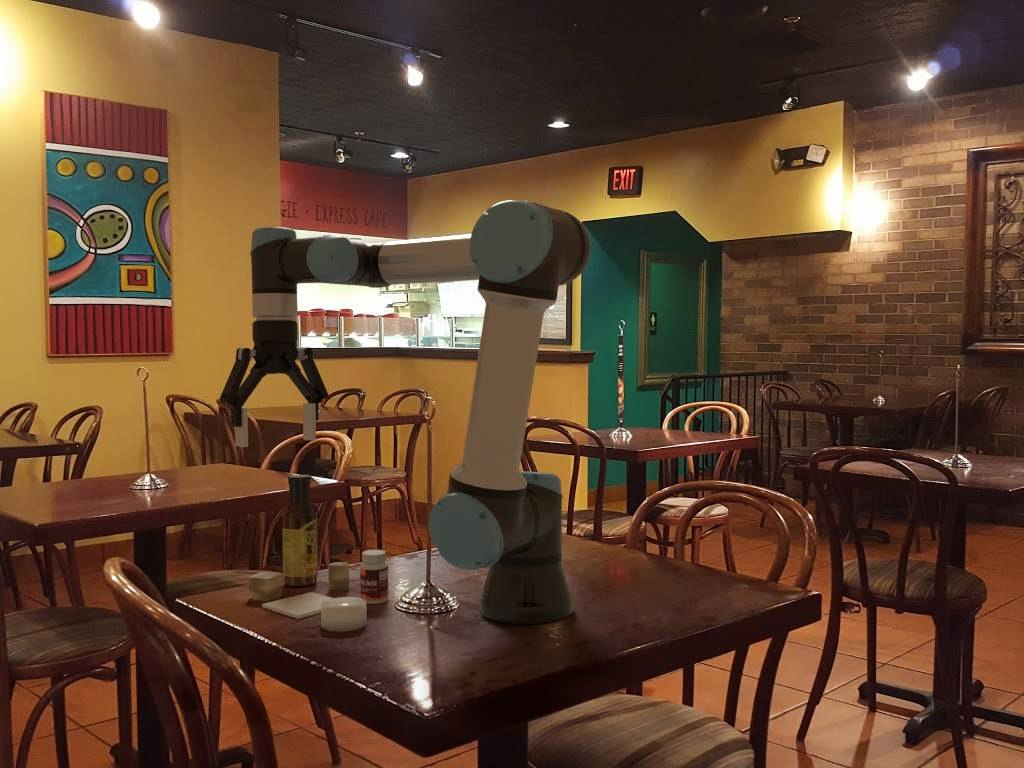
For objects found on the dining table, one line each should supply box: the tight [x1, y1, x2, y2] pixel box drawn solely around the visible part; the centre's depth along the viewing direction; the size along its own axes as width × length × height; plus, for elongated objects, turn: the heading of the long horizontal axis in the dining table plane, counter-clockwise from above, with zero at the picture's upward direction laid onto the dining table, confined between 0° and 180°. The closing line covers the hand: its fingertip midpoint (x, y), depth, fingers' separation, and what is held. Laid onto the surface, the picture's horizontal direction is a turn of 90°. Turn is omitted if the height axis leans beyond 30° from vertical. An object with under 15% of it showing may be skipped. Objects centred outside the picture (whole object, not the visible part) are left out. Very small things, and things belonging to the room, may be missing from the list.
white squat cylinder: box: [320, 596, 368, 633], centre depth 148 cm, size 7×7×4 cm
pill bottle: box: [359, 549, 389, 605], centre depth 161 cm, size 5×5×8 cm
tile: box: [261, 591, 334, 620], centre depth 158 cm, size 10×10×1 cm
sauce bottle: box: [282, 474, 319, 587], centre depth 173 cm, size 6×6×20 cm
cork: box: [327, 561, 350, 593], centre depth 169 cm, size 4×4×4 cm
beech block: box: [248, 571, 283, 603], centre depth 164 cm, size 4×4×4 cm
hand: (276, 443), depth 162 cm, fingers open, 13 cm apart
